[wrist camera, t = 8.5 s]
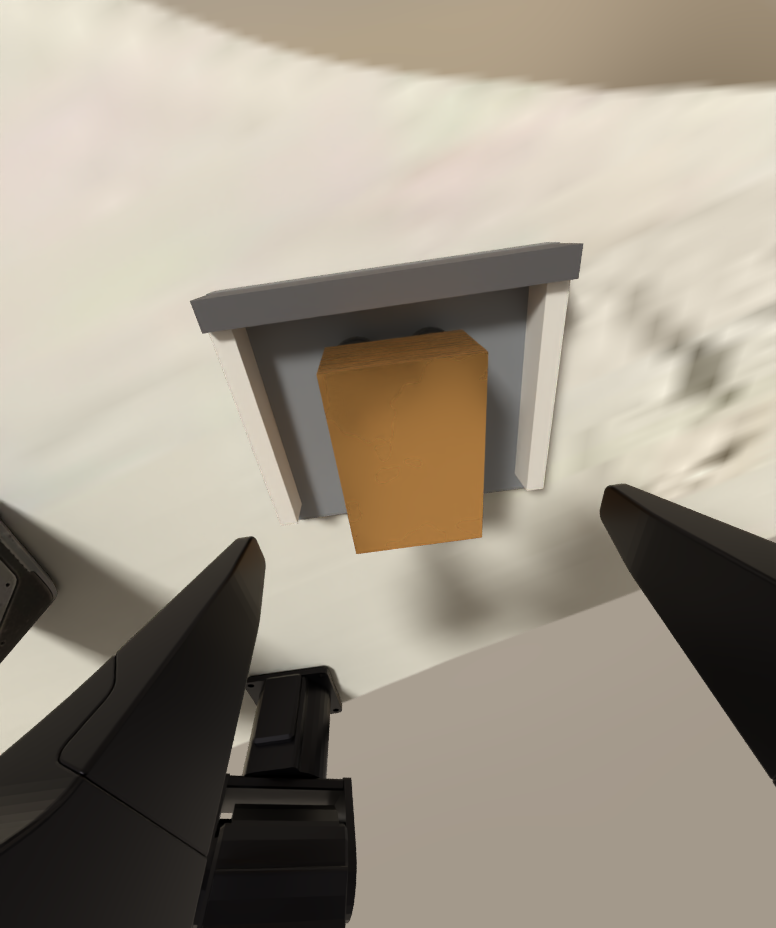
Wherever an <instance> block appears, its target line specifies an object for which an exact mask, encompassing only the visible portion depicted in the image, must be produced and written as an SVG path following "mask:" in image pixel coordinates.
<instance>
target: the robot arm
mask: <svg viewBox="0 0 776 928" xmlns="http://www.w3.org/2000/svg"><path fill="white" fill-rule="evenodd" d="M600 517H601V520H602V522H603V524H604V526H605V528H606V530H607V531H608V533H609V535H610V537H611V539H612V541H613V543H614V545H615V546H616V548H617V550H618V552H619V554H620V556H621V558H622V559H623V561H624V563H625V565H626V567H627V568H628V570H629V572H630V573H631V575H632V576H633V578H634V579H635V581H636V582H637V584H638V585H639V587H640V588H641V590H642V591H643V593H644V594H645V595H646V597H647V598H648V600H649V601H650V603H651V604H652V606H653V607H654V609H655V610H656V612H657V613H658V614H659V616H660V617H661V619H662V620H663V622H664V623H665V625H666V626H667V628H668V629H669V630H670V632H671V634H672V635H673V637H674V638H675V639H676V641H677V642H678V644H679V645H680V647H681V648H682V649H683V651H684V653H685V654H686V655H687V657H688V658H689V660H690V661H691V663H692V664H693V666H694V667H695V669H696V670H697V672H698V673H699V675H700V676H701V677H702V679H703V680H704V682H705V683H706V685H707V686H708V688H709V689H710V691H711V692H712V694H713V695H714V697H715V698H716V699H717V701H718V702H719V704H720V705H721V707H722V708H723V710H724V711H725V712H726V714H727V716H728V717H729V718H730V720H731V721H732V723H733V724H734V726H735V727H736V729H737V730H738V732H739V733H740V735H741V736H742V737H743V739H744V740H745V742H746V743H747V745H748V746H749V748H750V749H751V750H752V752H753V754H754V755H755V756H756V758H757V759H758V761H759V762H760V764H761V765H762V767H763V768H764V770H765V771H766V772H767V774H768V776H769V777H770V778H771V779H773V783H774V785H775V786H776V543H774V542H772V541H769V540H767V539H764V538H762V537H759V536H757V535H754V534H752V533H749V532H746V531H744V530H741V529H739V528H736V527H734V526H731V525H729V524H726V523H724V522H721V521H719V520H716V519H714V518H711V517H708V516H706V515H703V514H701V513H698V512H696V511H693V510H691V509H688V508H686V507H683V506H681V505H678V504H676V503H673V502H670V501H668V500H665V499H663V498H660V497H658V496H655V495H653V494H650V493H648V492H645V491H643V490H640V489H638V488H635V487H633V486H630V485H627V484H616V485H610V486H607V487H606V489H605V491H604V495H603V499H602V503H601V507H600ZM265 568H266V564H265V559H264V556H263V554H262V551H261V549H260V547H259V545H258V542H257V540H256V539H255V538H254V537H252V536H250V537H243V538H238V539H236V540H235V541H234V542H233V543H232V544H231V545H230V546H229V547H227V548H226V549H225V550H224V551H223V552H222V553H221V554H220V555H219V556H218V557H217V558H216V559H215V560H214V561H213V562H212V563H211V564H209V565H208V566H207V567H206V568H205V569H204V570H203V571H202V572H201V573H200V574H199V575H198V576H197V577H196V578H195V579H194V580H193V581H192V582H190V583H189V584H188V585H187V586H186V587H185V588H184V589H183V590H182V591H181V592H180V593H179V594H178V595H177V596H176V597H175V598H174V599H173V600H171V601H170V602H169V603H168V604H167V605H166V606H165V607H164V608H163V609H162V610H161V611H160V612H159V613H158V614H157V615H156V616H155V617H153V618H152V619H151V620H150V621H149V622H148V623H147V624H146V625H145V626H144V627H143V628H142V629H141V630H140V631H139V632H138V633H137V634H136V635H134V636H133V637H132V638H131V639H130V640H129V641H128V642H127V643H126V644H125V645H124V646H123V647H122V648H121V649H120V650H119V651H118V652H117V653H116V655H114V656H112V657H111V658H110V659H109V660H108V661H107V662H106V663H105V664H104V665H103V666H102V667H101V668H99V669H98V670H97V671H96V672H95V673H94V674H93V675H92V676H91V677H90V678H89V679H88V680H86V681H85V682H84V683H83V684H82V685H81V686H80V687H79V688H78V689H77V690H76V691H74V692H73V693H72V694H71V695H70V696H69V697H68V698H67V699H66V700H64V701H63V702H62V703H61V704H60V705H59V706H58V707H56V708H55V709H54V710H53V711H52V712H51V713H49V714H48V715H47V716H46V717H45V718H44V719H43V720H41V721H40V722H39V723H38V724H37V725H36V726H34V727H33V728H32V729H31V730H30V731H29V732H27V733H26V734H25V735H24V736H23V737H22V738H20V739H19V740H18V741H17V742H16V743H14V744H13V745H12V746H11V747H10V748H9V749H7V750H6V751H5V752H4V753H3V754H2V755H0V928H345V923H348V922H349V921H350V918H351V915H352V911H353V906H354V898H355V889H356V872H357V870H356V869H357V866H356V865H357V860H356V841H355V827H354V812H353V798H352V782H351V778H343V779H326V775H327V774H326V773H327V758H328V741H329V724H330V714H333V713H339V712H341V711H342V703H341V700H340V698H339V695H338V693H337V690H336V688H335V685H334V683H333V680H332V678H331V675H330V672H329V670H328V669H327V668H325V667H319V668H312V669H305V670H298V671H291V672H283V673H276V674H269V675H262V676H255V677H249V678H247V677H248V673H249V668H250V664H251V660H252V655H253V651H254V646H255V642H256V637H257V633H258V627H259V622H260V614H261V605H262V596H263V587H264V577H265ZM245 688H246V690H247V691H248V693H249V694H250V696H251V697H252V699H253V701H254V702H255V704H256V705H257V709H256V714H255V718H254V723H253V728H252V732H251V737H250V741H249V746H248V751H247V756H246V760H245V764H244V769H243V774H242V776H232V775H231V776H230V774H226V771H227V767H228V762H229V758H230V753H231V749H232V745H233V740H234V736H235V731H236V727H237V722H238V718H239V713H240V709H241V704H242V700H243V695H244V691H245ZM221 813H233V815H232V818H231V819H220V815H221Z"/></svg>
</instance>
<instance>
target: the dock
mask: <svg viewBox="0 0 776 928" xmlns="http://www.w3.org/2000/svg"><path fill="white" fill-rule="evenodd" d="M582 249H583V244H581V243H560V242H546V243H540V244H533V245H526V246H519V247H512V248H506V249H499V250H492V251H485V252H478V253H471V254H465V255H458V256H451V257H444V258H437V259H430V260H424V261H417V262H410V263H403V264H396V265H390V266H383V267H376V268H369V269H362V270H355V271H349V272H342V273H335V274H328V275H321V276H314V277H308V278H301V279H294V280H287V281H280V282H274V283H267V284H260V285H253V286H246V287H239V288H233V289H226V290H219V291H214V292H211V293H208V294H206V296H203V297H200V298H197V299H195V300H192V301H190V303H191V305H192V308H193V310H194V313H195V316H196V318H197V321H198V323H199V326H200V329H201V331H202V334H203V333H209V335H210V338H211V340H212V343H213V346H214V348H215V351H216V354H217V356H218V359H219V362H220V364H221V367H222V370H223V372H224V375H225V378H226V380H227V383H228V386H229V388H230V391H231V394H232V396H233V399H234V402H235V404H236V407H237V410H238V412H239V415H240V418H241V420H242V423H243V426H244V428H245V431H246V434H247V436H248V439H249V442H250V444H251V447H252V450H253V452H254V455H255V458H256V460H257V463H258V466H259V468H260V471H261V474H262V476H263V479H264V482H265V484H266V487H267V490H268V492H269V495H270V498H271V500H272V503H273V506H274V508H275V511H276V514H277V516H278V519H279V522H280V524H281V526H284V525H291V524H298V520H302V519H309V518H316V517H323V516H330V515H337V514H344V513H347V510H346V505H345V501H344V496H343V492H342V487H341V483H340V478H339V474H338V469H337V465H336V460H335V456H334V451H333V447H332V442H331V438H330V434H329V429H328V425H327V420H326V416H325V411H324V407H323V402H322V398H321V393H320V389H319V384H318V380H317V375H316V374H317V371H318V368H319V365H320V361H321V358H322V355H323V352H324V349H325V347H332V346H338V345H339V344H340V343H341V342H342V341H343V340H345V339H347V338H350V337H355V336H360V337H365V338H367V339H369V340H371V341H377V340H385V339H392V338H400V337H408V336H411V335H412V334H413V333H415V332H416V331H417V330H419V329H421V328H424V327H438V328H441V329H443V330H445V331H453V330H460V329H462V330H463V331H465V332H466V333H467V334H468V335H469V336H471V337H472V338H473V339H474V340H475V341H476V342H478V343H479V344H480V345H481V346H482V347H483V348H485V349H486V350H487V351H488V380H487V407H486V435H485V463H484V491H483V494H484V493H491V492H498V491H505V490H512V489H519V488H525V489H526V491H529V490H536V489H543V486H544V479H545V471H546V463H547V456H548V448H549V440H550V433H551V425H552V417H553V410H554V402H555V394H556V387H557V379H558V371H559V364H560V356H561V349H562V341H563V333H564V326H565V318H566V310H567V303H568V295H569V287H570V280H573V279H578V278H579V271H580V263H581V256H582Z"/></svg>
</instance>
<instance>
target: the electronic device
mask: <svg viewBox="0 0 776 928" xmlns="http://www.w3.org/2000/svg"><path fill="white" fill-rule="evenodd" d="M56 596H57V590H56V587H55V585H54V583H53V582H52V580H51V578H50V577H49V576H48V574H47V573H46V572H45V571H44V570H43V569H42V568H41V566H40V565H39V564H38V563H37V562H36V561H35V559H34V558H33V557H32V556H31V555H30V554H29V552H28V551H27V550H26V549H25V548H24V547H23V545H22V544H21V543H20V542H19V541H18V540H17V538H16V537H15V536H14V535H13V534H12V533H11V531H10V530H9V529H8V528H7V527H6V526H5V524H4V523H3V522H2V521H1V520H0V663H1V662H2V661H3V660H4V659H5V657H6V656H7V655H8V654H9V653H10V652H11V650H12V649H13V648H14V647H15V646H16V644H17V643H18V642H19V641H20V640H21V639H22V637H23V636H24V635H25V634H26V633H27V632H28V630H29V629H30V628H31V627H32V626H33V624H34V623H35V622H36V621H37V620H38V619H39V617H40V616H41V615H42V614H43V613H44V612H45V610H46V609H47V608H48V607H49V606H50V604H51V603H52V602H53V601H54V600H55V598H56Z"/></svg>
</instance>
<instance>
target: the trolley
mask: <svg viewBox="0 0 776 928" xmlns="http://www.w3.org/2000/svg"><path fill="white" fill-rule="evenodd" d="M316 375H317V380H318V384H319V389H320V393H321V398H322V402H323V407H324V411H325V416H326V420H327V425H328V429H329V434H330V438H331V442H332V447H333V451H334V456H335V460H336V465H337V469H338V474H339V478H340V483H341V487H342V492H343V496H344V501H345V505H346V510H347V514H348V519H349V523H350V528H351V532H352V537H353V541H354V546H355V550H356V554H361V553H368V552H376V551H383V550H391V549H398V548H406V547H413V546H421V545H428V544H436V543H443V542H451V541H458V540H466V539H473V538H481V537H482V518H483V491H484V463H485V435H486V407H487V380H488V351H487V350H486V349H485V348H483V347H482V346H481V345H480V344H479V343H478V342H476V341H475V340H474V339H473V338H472V337H471V336H469V335H468V334H467V333H466V332H465V331H463V330H462V329H460V330H453V331H445V330H443V329H441V328H438V327H424V328H421V329H419V330H417V331H416V332H415V333H413V334H412V335H411V336H408V337H400V338H392V339H385V340H377V341H371V340H369V339H367V338H365V337H360V336H355V337H350V338H347V339H345V340H343V341H342V342H341V343H340V344H339V345H338V346H332V347H325V349H324V352H323V355H322V358H321V361H320V365H319V368H318V371H317V374H316Z"/></svg>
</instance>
